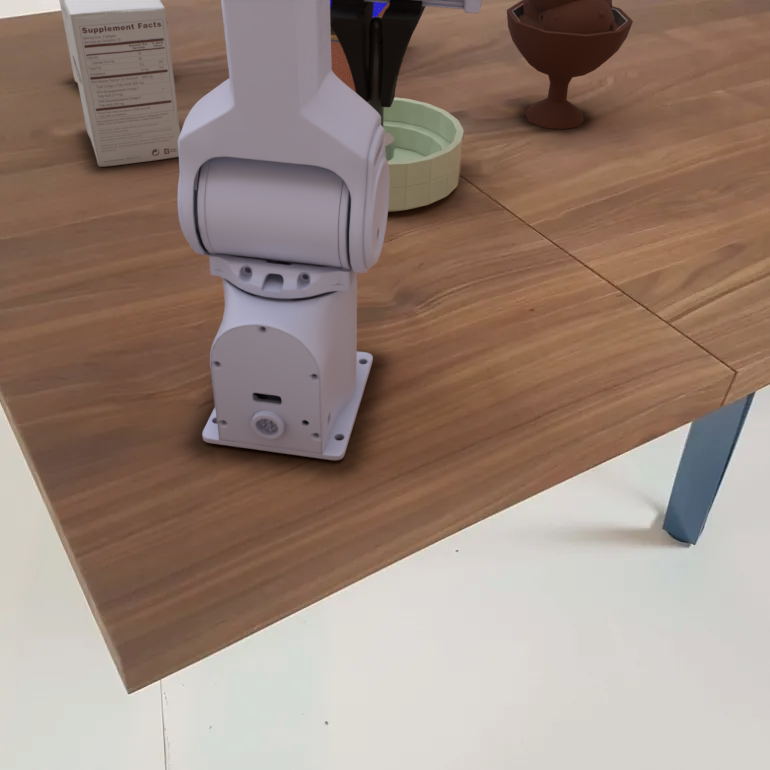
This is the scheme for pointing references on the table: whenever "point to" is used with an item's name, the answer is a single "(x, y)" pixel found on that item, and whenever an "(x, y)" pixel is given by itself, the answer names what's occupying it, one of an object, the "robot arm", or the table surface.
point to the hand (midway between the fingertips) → (376, 101)
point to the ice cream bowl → (565, 48)
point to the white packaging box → (124, 78)
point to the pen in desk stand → (377, 77)
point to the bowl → (422, 153)
